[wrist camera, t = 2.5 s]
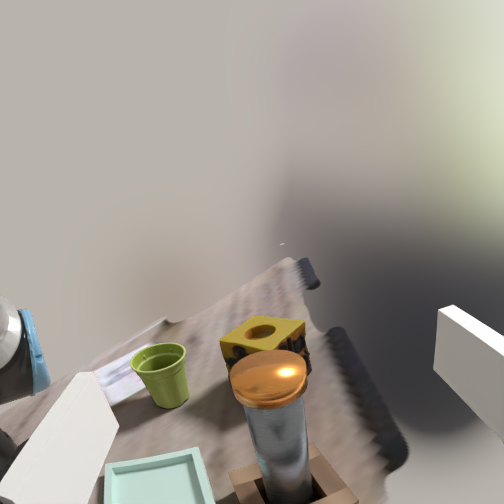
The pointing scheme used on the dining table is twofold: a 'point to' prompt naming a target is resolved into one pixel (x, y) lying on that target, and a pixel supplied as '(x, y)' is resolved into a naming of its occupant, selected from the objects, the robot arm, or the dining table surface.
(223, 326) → the dining table surface
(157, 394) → the plant pot
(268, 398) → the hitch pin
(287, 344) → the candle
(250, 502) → the socket collar
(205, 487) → the tray
